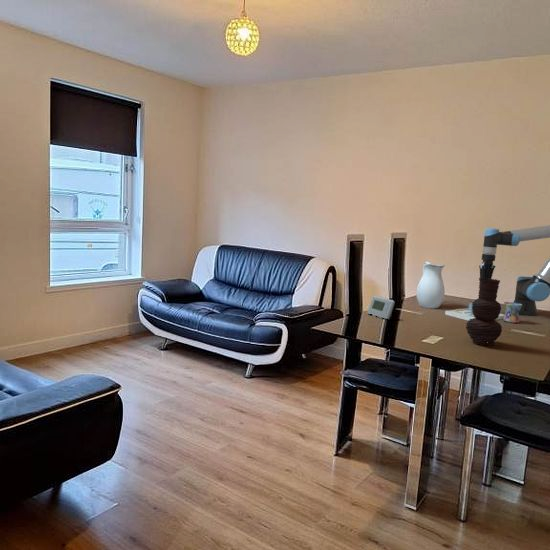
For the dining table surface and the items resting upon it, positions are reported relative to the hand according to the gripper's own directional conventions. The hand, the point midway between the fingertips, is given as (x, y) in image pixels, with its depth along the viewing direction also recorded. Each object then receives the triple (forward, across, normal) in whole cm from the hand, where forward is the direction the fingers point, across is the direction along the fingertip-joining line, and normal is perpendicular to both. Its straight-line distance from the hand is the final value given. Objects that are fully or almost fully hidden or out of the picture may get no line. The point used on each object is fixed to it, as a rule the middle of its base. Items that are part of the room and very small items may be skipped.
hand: (483, 292), depth 299 cm
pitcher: (+14, +16, -28) cm, 35 cm away
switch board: (+13, +13, +5) cm, 19 cm away
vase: (+13, +65, +46) cm, 81 cm away
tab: (+11, +8, 0) cm, 13 cm away
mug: (+13, +3, +22) cm, 25 cm away
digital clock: (+14, +73, -12) cm, 75 cm away
